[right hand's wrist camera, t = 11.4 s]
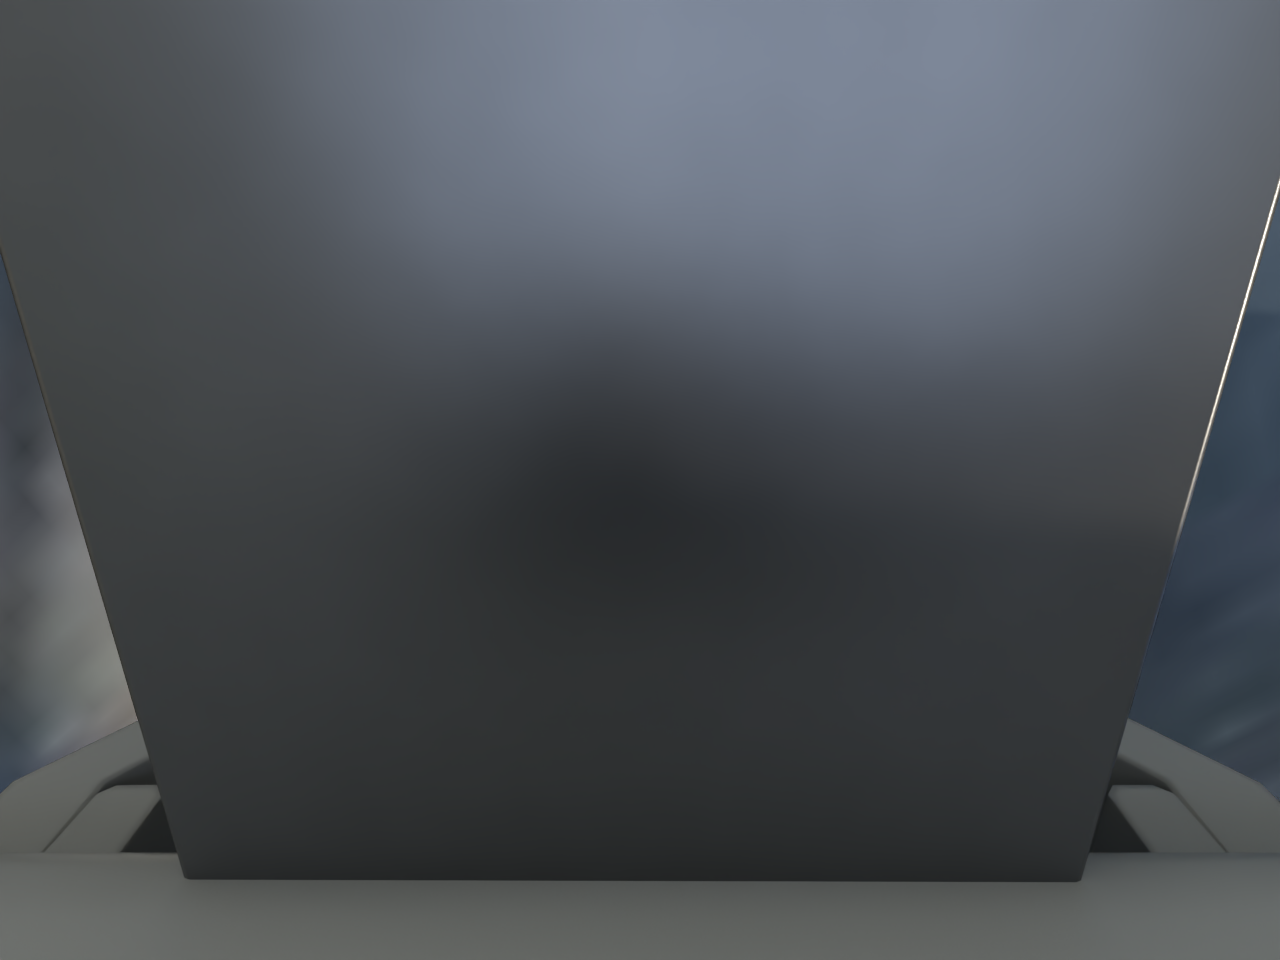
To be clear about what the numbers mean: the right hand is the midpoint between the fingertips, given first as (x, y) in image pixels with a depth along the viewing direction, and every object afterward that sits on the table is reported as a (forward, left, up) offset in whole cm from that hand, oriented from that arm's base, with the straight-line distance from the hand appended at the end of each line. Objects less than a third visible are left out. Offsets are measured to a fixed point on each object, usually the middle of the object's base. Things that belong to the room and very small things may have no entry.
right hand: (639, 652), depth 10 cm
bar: (+8, +1, -3) cm, 9 cm away
